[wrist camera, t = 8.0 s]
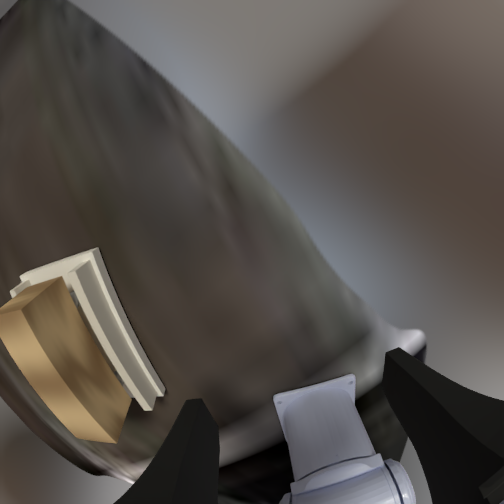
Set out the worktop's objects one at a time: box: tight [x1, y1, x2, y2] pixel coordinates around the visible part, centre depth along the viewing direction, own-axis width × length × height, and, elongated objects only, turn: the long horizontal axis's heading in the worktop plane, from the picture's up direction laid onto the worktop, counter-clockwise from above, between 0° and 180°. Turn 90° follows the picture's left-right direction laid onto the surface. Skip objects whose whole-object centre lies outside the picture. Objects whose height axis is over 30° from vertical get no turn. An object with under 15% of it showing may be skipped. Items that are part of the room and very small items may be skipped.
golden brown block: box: [0, 276, 132, 443], centre depth 15 cm, size 12×4×5 cm, turn 13°
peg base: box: [10, 248, 165, 411], centre depth 18 cm, size 14×9×3 cm, turn 13°
